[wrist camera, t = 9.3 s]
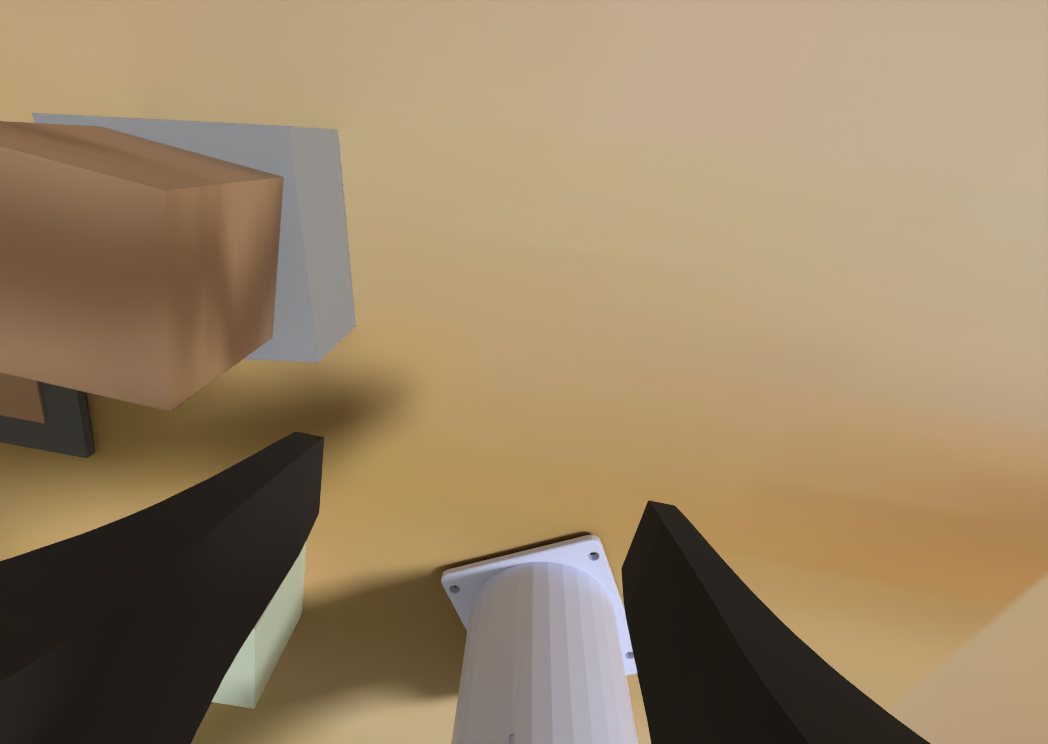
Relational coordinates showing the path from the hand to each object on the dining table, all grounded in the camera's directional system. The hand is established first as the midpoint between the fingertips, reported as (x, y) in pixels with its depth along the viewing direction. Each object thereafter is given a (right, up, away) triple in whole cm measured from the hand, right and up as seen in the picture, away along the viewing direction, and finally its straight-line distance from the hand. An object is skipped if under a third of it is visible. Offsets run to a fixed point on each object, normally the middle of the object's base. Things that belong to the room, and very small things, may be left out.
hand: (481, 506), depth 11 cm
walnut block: (-9, +7, +4) cm, 12 cm away
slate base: (-9, +8, +8) cm, 14 cm away
